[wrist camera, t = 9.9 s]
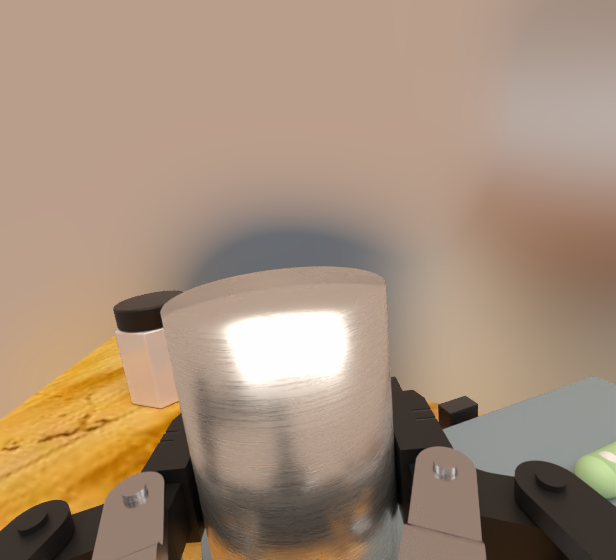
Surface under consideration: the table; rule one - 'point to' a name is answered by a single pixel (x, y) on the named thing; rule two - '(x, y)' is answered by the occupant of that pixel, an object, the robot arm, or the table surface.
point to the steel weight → (289, 413)
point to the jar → (146, 349)
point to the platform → (542, 437)
